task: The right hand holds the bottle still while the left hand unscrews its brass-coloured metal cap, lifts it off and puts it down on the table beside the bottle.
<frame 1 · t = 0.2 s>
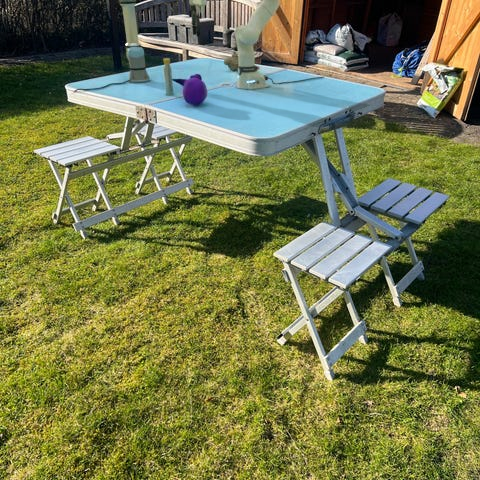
left hand: (196, 35, 349), 28 cm above the table, tool pointing down, fingers open, 13 cm apart
right hand: (200, 12, 281), 48 cm above the table, tool pointing down, fingers open, 8 cm apart
toy: (192, 103, 277), on the table
bottle: (170, 94, 299), on the table
teapot: (235, 70, 370), on the table
cap: (166, 59, 288), point 22 cm above the table, screwed on, not yet turned
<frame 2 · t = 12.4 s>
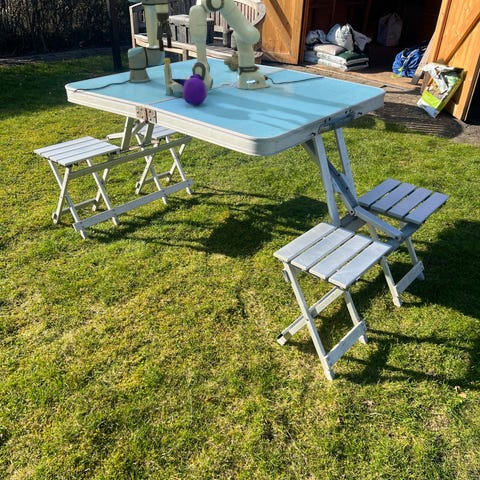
left hand: (165, 49, 285), 28 cm above the table, tool pointing down, fingers open, 13 cm apart
right hand: (167, 84, 295), 7 cm above the table, tool horizontal, fingers closed on bottle, 5 cm apart
bottle: (170, 94, 299), on the table, touching right hand
everything else where it was.
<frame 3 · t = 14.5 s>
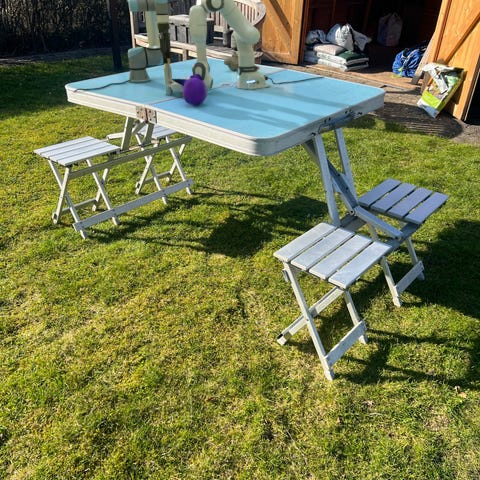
left hand: (167, 62, 289), 20 cm above the table, tool pointing down, fingers closed on cap, 4 cm apart
right hand: (167, 84, 295), 7 cm above the table, tool horizontal, fingers closed on bottle, 5 cm apart
bottle: (170, 94, 299), on the table, touching right hand
cap: (166, 59, 288), point 22 cm above the table, screwed on, not yet turned, touching left hand
everything else where it was.
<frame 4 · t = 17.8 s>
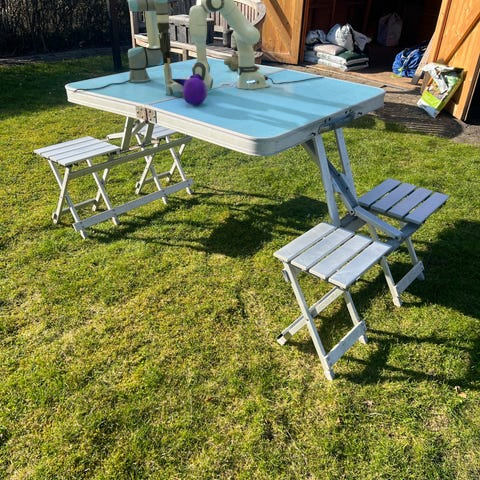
left hand: (166, 62, 289), 20 cm above the table, tool pointing down, fingers closed on cap, 4 cm apart
right hand: (167, 84, 295), 7 cm above the table, tool horizontal, fingers closed on bottle, 5 cm apart
bottle: (170, 94, 299), on the table, touching right hand
cap: (166, 59, 288), point 22 cm above the table, turned 122° so far, risen 0.1 cm, still on its thread, touching left hand
everything else where it was.
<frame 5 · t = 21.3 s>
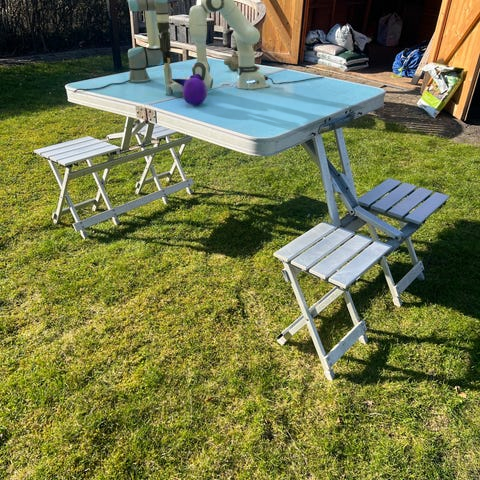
left hand: (166, 62, 289), 20 cm above the table, tool pointing down, fingers closed on cap, 4 cm apart
right hand: (167, 84, 295), 7 cm above the table, tool horizontal, fingers closed on bottle, 5 cm apart
bottle: (170, 94, 299), on the table, touching right hand
cap: (166, 58, 288), point 22 cm above the table, turned 244° so far, risen 0.3 cm, still on its thread, touching left hand
everything else where it was.
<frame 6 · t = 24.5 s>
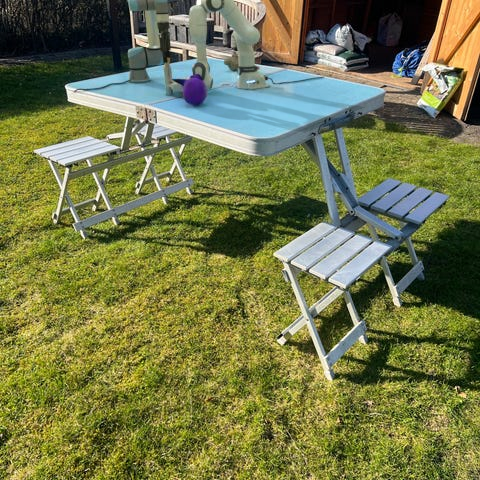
left hand: (166, 61, 288), 20 cm above the table, tool pointing down, fingers closed on cap, 4 cm apart
right hand: (167, 84, 295), 7 cm above the table, tool horizontal, fingers closed on bottle, 5 cm apart
bottle: (170, 94, 299), on the table, touching right hand
cap: (166, 58, 287), point 22 cm above the table, turned 366° so far, risen 0.4 cm, still on its thread, touching left hand
everything else where it was.
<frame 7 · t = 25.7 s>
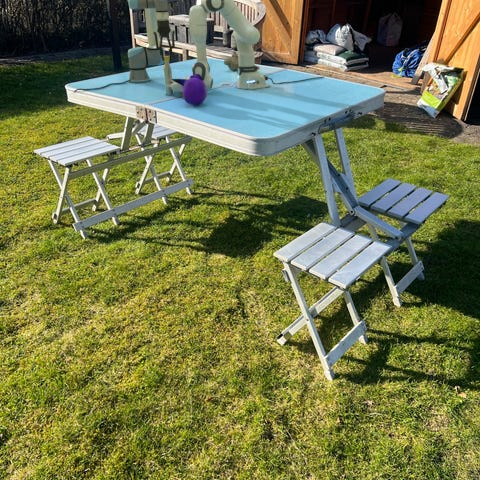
left hand: (166, 60, 288), 21 cm above the table, tool pointing down, fingers closed on cap, 4 cm apart
right hand: (167, 84, 295), 7 cm above the table, tool horizontal, fingers closed on bottle, 5 cm apart
bottle: (170, 94, 299), on the table, touching right hand
cap: (166, 56, 287), point 23 cm above the table, off its thread, touching left hand
everything else where it was.
when the left hand's fingers open (2 cm above the table, at t = 32.3 s): cap drops 2 cm, point 2 cm above the table.
when the right hand's fingers open (7 cm above the table, at t = 33.6 s): bottle stays where it is, on the table.
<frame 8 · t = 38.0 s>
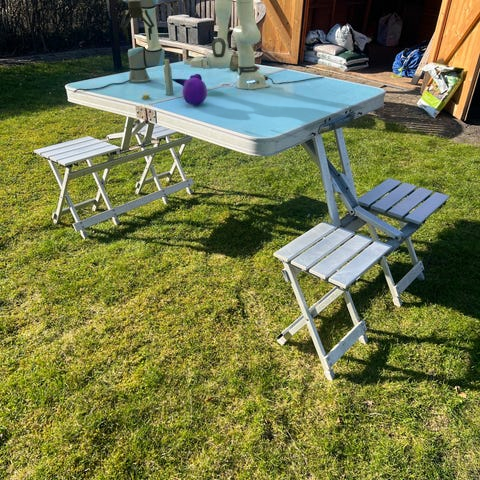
left hand: (138, 40, 272), 35 cm above the table, tool pointing down, fingers open, 13 cm apart
right hand: (185, 61, 287), 21 cm above the table, tool horizontal, fingers open, 8 cm apart
bottle: (170, 94, 299), on the table
cap: (145, 95, 289), point 2 cm above the table, off its thread
everything else where it was.
at the end: cap came off its thread; cap point 1.9 cm above the table; the left hand is holding nothing; the right hand is holding nothing; bottle tilted 0°; bottle moved 0.0 cm from its start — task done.
